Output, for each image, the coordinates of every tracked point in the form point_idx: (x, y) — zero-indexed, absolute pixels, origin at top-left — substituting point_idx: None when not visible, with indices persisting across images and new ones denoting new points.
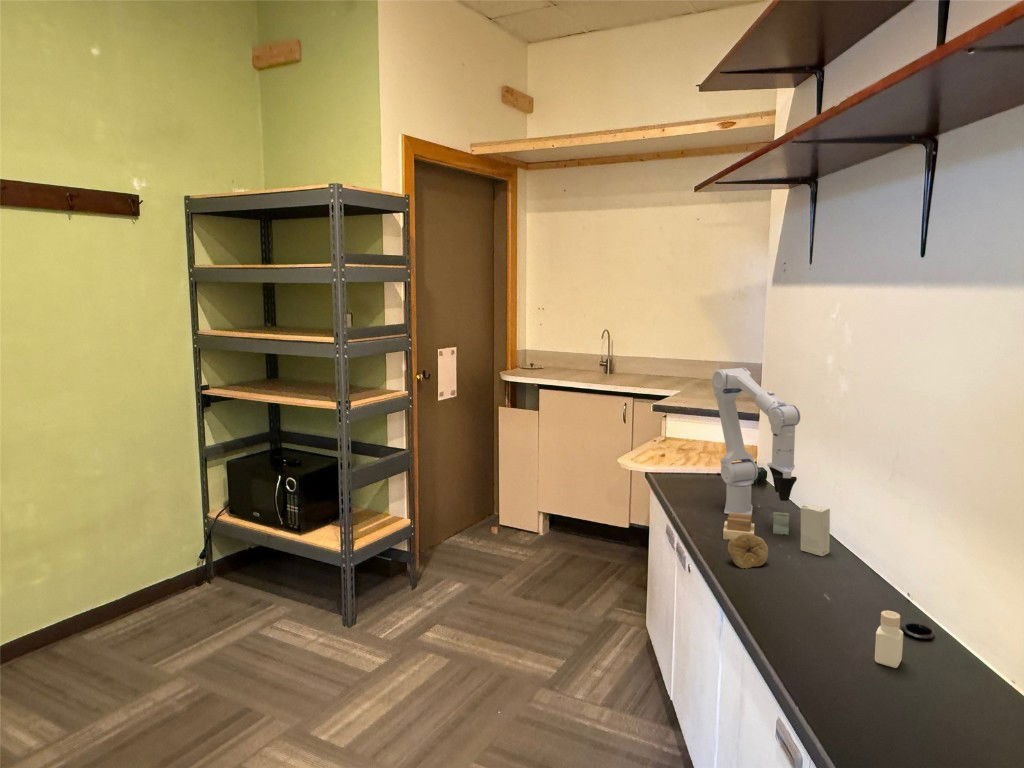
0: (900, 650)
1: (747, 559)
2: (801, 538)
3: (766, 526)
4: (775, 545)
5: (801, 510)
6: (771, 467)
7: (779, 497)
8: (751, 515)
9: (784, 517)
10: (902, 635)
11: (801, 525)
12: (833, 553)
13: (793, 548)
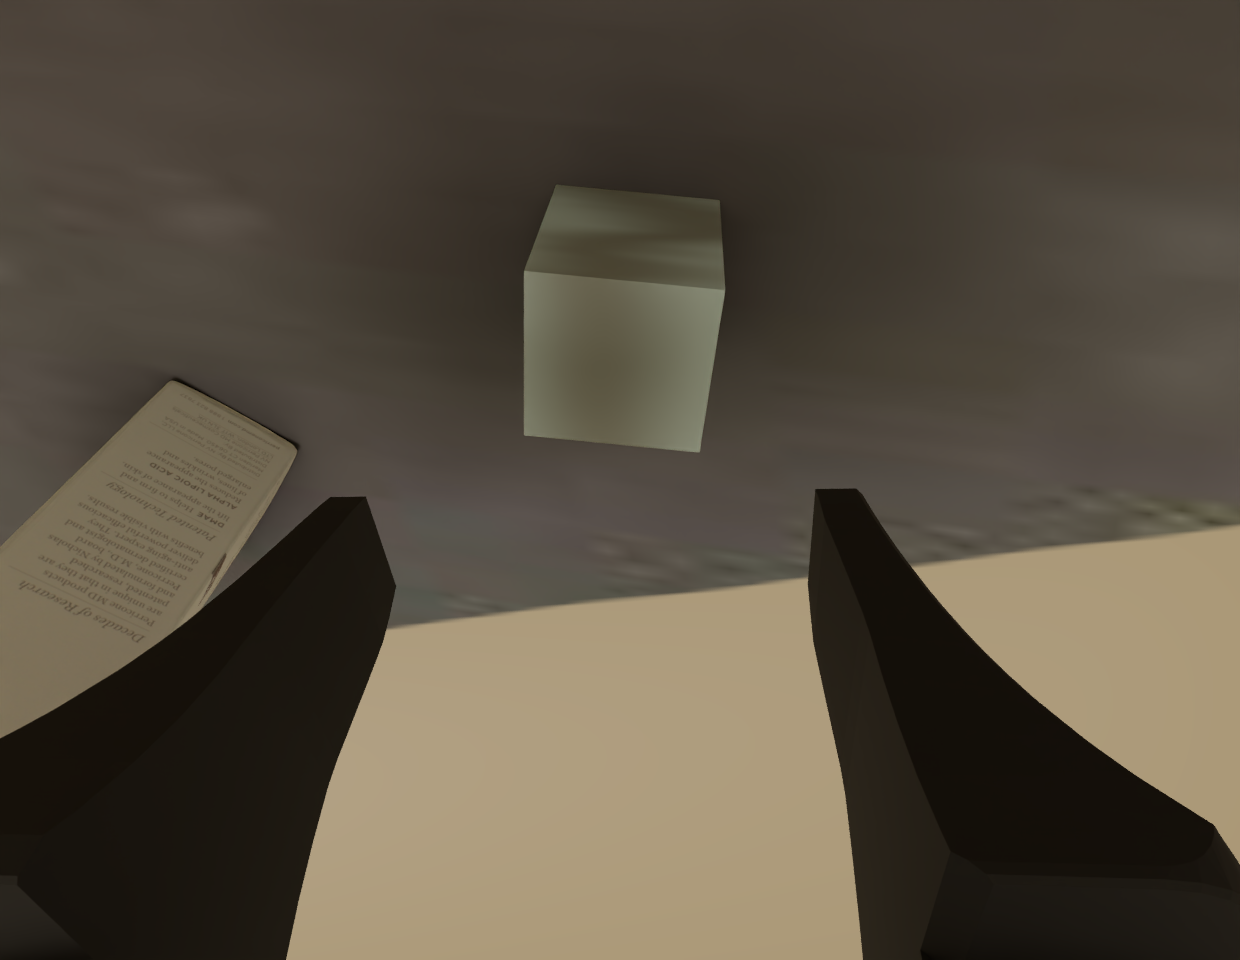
0: None
1: None
2: (105, 446)
3: (792, 128)
4: (193, 171)
5: None
6: (1112, 924)
7: (343, 515)
8: None
9: (526, 390)
10: None
11: (14, 533)
12: (241, 569)
13: (199, 327)
